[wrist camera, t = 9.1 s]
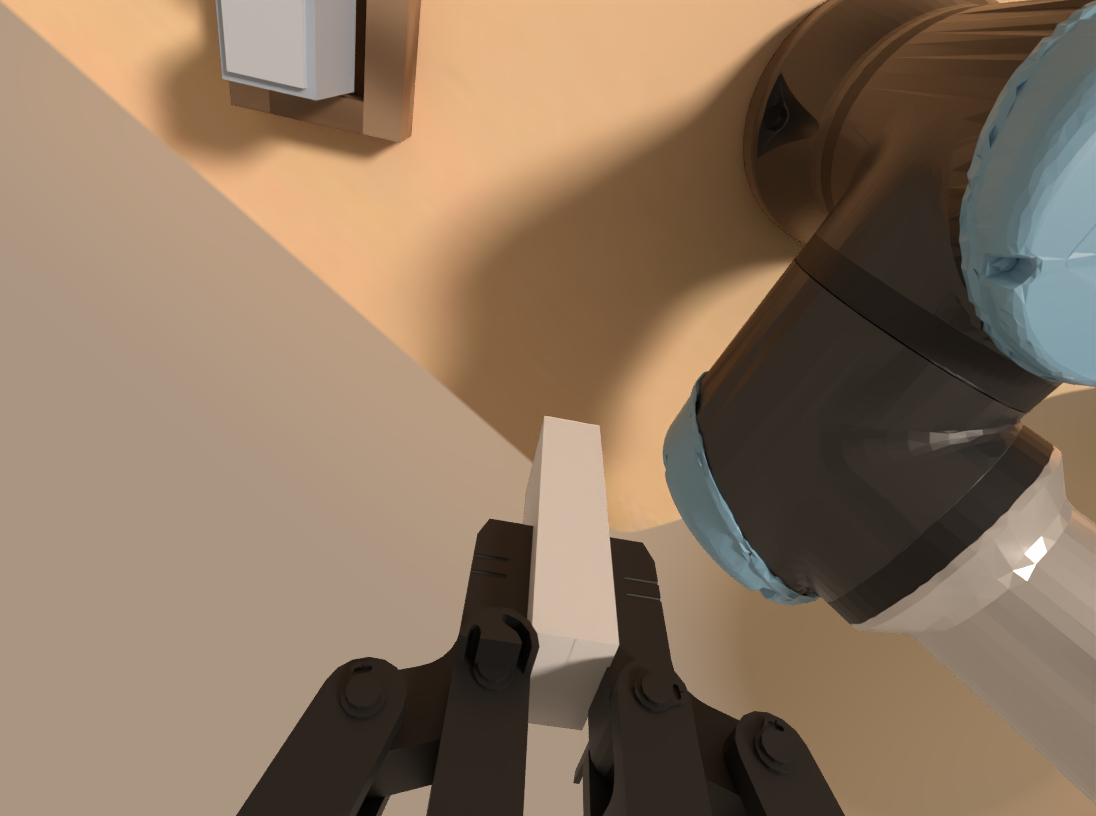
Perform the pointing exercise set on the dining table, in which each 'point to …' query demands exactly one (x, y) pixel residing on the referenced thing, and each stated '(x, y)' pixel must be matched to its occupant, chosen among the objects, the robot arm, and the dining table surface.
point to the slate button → (289, 45)
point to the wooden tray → (384, 80)
